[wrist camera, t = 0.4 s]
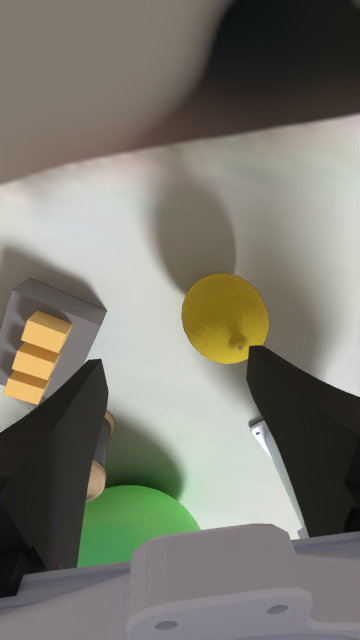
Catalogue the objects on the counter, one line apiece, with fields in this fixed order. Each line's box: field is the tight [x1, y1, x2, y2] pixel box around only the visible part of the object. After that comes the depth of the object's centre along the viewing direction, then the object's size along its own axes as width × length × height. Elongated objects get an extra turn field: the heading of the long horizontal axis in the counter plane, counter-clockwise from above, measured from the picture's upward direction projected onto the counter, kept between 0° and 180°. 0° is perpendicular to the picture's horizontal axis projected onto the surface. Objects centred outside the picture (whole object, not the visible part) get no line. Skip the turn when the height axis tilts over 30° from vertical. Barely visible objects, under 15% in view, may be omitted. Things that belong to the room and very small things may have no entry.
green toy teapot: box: [77, 485, 201, 568], centre depth 26 cm, size 18×17×15 cm
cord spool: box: [86, 410, 115, 502], centre depth 23 cm, size 6×6×6 cm
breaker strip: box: [0, 278, 107, 405], centre depth 20 cm, size 8×6×4 cm
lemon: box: [182, 273, 269, 364], centre depth 17 cm, size 6×6×8 cm
